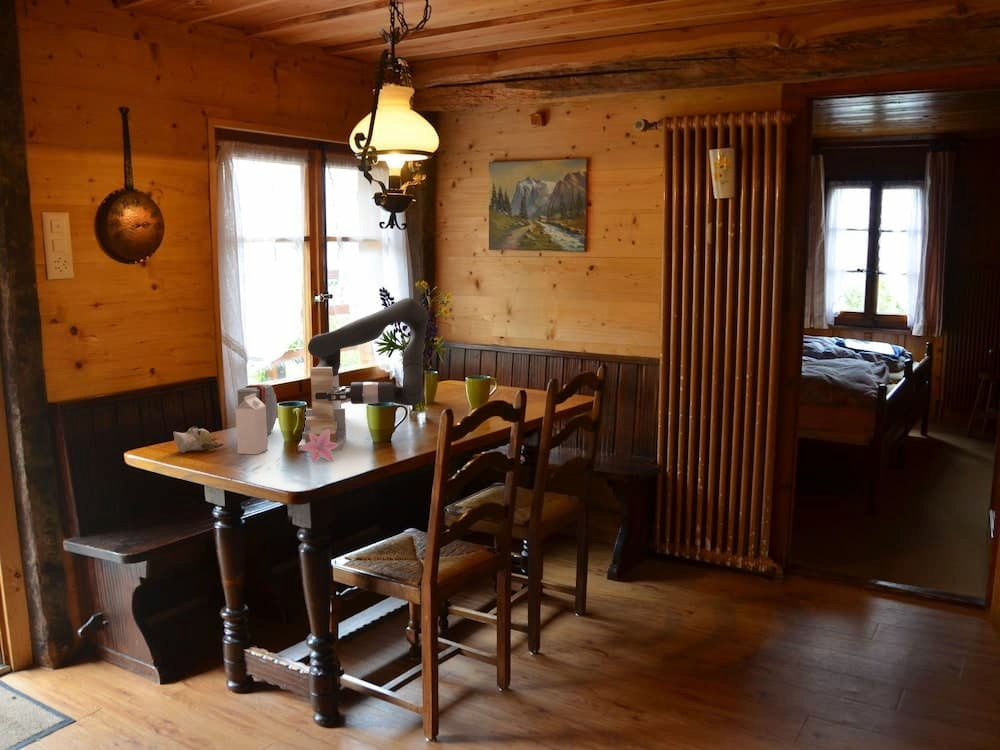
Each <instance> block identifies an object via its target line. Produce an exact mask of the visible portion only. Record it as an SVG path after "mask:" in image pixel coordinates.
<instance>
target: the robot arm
mask: <svg viewBox="0 0 1000 750" xmlns="http://www.w3.org/2000/svg"><path fill="white" fill-rule="evenodd" d="M428 320H429V312H428V309H427V308H426V307H425V306H424V305H423V304H422V303H421V302H418V301H417V300H415V299H414V298H411V297H405V298H401V299H400V300H398V301H396V302H394V303H393V304H391V305H389V306H387V307H385V308H383V309H381V310H378V311H375V312H374V313H372V314H369V315H366V316H364V317H361V318H357V319H355V320H354V321H351V322H348V323H347V324H345V325H343V326H340V327H339V328H337V329H335V330H332V331H328V332H325V333H320V334H316V335H314V336H313V337H312V338H311V339H310V340H309V342H308V345H307V351H308V353H309V354H310V356H312V357H313V358H316V359H319V363H318V364H317V365H316V367H332V372H333V391H332V392H325V393H316V394H315V399H327V400H328V401H334V409H335V408H342V401H345V402H346V401H347V399H350V403H351V404H352V405H371V404H373V405H374V404H388V403H391V404H396V405H400V406H401V405H402V406H417V405H419V404H421V403H422V401H423V400H424V397H425V396H424V395H425V394H424V381H423V373H424V345H425V344H424V343H425V340H426V334H427V333H426V332H427V327H428ZM400 322H401V323H403V324H404V325H405V326H407V327H409V331H410V332H409V333H410V338H409V339H410V340H409V342H408V344H407V345H406V347H405V348H404V351H403V355H402V373H403V374H402V386H397V385H395V384H394V383H393V382H389V381H388V382H376V381H375V382H374V381H363V382H362V381H357V382H356V381H354V382H353V381H352V382H351V383H350V385H347V386H340V381H339V372H340V367H341V349H346V348H350V347H357V346H360V345H364V344H366V343H370V342H372V341H374V340H377V339H379V338H380V337H381V336H382V334H383V333H384V331H385V330H386V328H387V327H388V326H390V325H393V324H395V323H400Z"/></svg>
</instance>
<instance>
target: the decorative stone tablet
mask: <svg viewBox="0 0 1000 750" xmlns="http://www.w3.org/2000/svg"><path fill="white" fill-rule="evenodd" d="M236 393H237V395H236V396H237V407H238V406H239V405H240V404H241V403H242V402H243V401H244V397H246V396H249V395H252V394H255V393H256V397H257V398H258V399H259V400H260V401H261V402H262V403H263V404H264V405H265V406H266V422H267V436H268V435H270V433H271V432H272V431H273V430H274V427H275V424H276V421H277V415H278V412H277V411H278V404H277V395H276V393H275V390H274V388H273V386H272V385H270V384H249V385H246V386H245V387H243V388H239V389H237V391H236Z"/></svg>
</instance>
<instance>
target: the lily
mask: <svg viewBox="0 0 1000 750" xmlns="http://www.w3.org/2000/svg"><path fill="white" fill-rule="evenodd" d="M309 436H310V440H311V442H308V443H306V444H304V445H303V446H301V447H300V449H302V450H305V451H304V452H309V453H312V455H311V456H312V457H311V459H312V463H316V462H317V461H318V460H319V459H320V458H321V457H322V458H324V459H325V460H328V461H329V462H334V461H335V460H334V456H333V452H332V451H333V450H331V449H334V448H336V447H337V446H339V444H337V443H334V442H329V441H330V430H329V429H327V430H325V431H324V432H323V433H322V434H321V435H320V436H319V437H318V436H316V435H314V434H312V433H309Z"/></svg>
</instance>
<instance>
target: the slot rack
mask: <svg viewBox="0 0 1000 750" xmlns="http://www.w3.org/2000/svg"><path fill="white" fill-rule="evenodd" d="M305 409H306V412H305V415H306V416H305V418H306V417H312V408H305ZM334 422H336V423H337V433H338V439H337V441H336V443H337V444H339V446H337V447H336V448H334V449H331V451H342V449H343V447H344V445H345V442H346V440H347V433H346V432H347V431H346V429H347V427H346V425H347V424H346V408H345V407H344V408H343V407H341V408H335V409H334ZM307 431H310V426H306V420H305V427H304V429H303V432H302V433H301V434H302V435H301V437H302V439H301V441H300V442H298V443H299V444H297V450H298V452H306V451H305V450H302V449H300V447H301V446H303V445H304V444H306V443H305V434H306V432H307Z"/></svg>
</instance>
